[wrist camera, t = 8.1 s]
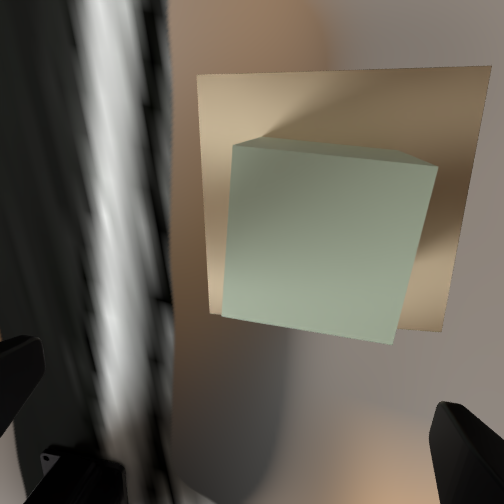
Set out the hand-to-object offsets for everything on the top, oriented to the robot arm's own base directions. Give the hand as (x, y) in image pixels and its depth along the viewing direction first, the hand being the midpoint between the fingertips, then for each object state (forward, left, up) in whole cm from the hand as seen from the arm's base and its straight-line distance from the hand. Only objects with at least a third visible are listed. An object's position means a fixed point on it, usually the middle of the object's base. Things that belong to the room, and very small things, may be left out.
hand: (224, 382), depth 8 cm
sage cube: (+2, -2, -8) cm, 9 cm away
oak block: (+2, -2, -12) cm, 12 cm away
